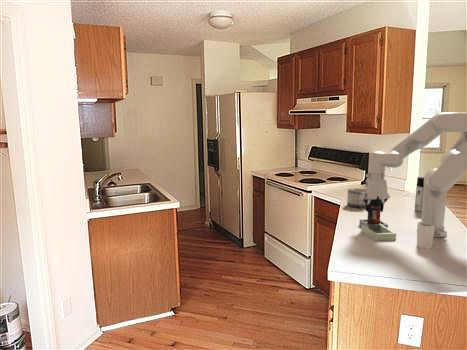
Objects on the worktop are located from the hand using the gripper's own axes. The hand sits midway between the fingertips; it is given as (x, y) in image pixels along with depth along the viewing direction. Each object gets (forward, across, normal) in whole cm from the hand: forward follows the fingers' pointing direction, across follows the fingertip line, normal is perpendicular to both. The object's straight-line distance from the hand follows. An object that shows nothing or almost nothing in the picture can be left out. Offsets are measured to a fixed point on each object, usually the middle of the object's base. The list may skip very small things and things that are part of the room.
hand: (374, 211), depth 177 cm
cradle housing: (+9, 0, 0) cm, 9 cm away
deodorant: (+7, 0, 0) cm, 7 cm away
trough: (+9, -3, -11) cm, 14 cm away
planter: (+9, +11, +44) cm, 46 cm away
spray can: (+9, +44, +29) cm, 53 cm away
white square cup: (+9, +10, -27) cm, 30 cm away
